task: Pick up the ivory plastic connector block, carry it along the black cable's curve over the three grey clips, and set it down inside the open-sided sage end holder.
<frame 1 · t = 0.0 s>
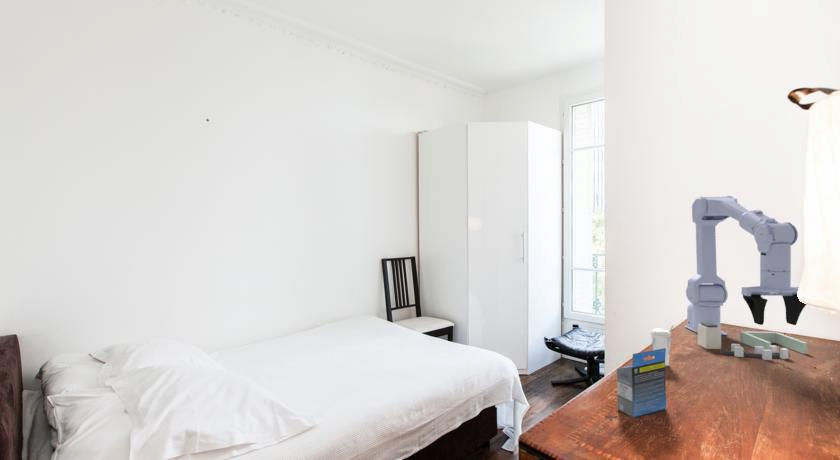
hand: (775, 323, 99), 10 cm above the table, tool pointing down, fingers open, 7 cm apart
connector: (709, 346, 113), on the table
holder: (772, 347, 111), on the table
milkshake: (662, 365, 101), on the table
cable: (757, 355, 106), resting in clips
label tape cartridge: (641, 410, 77), on the table
clips: (757, 355, 106), on the table
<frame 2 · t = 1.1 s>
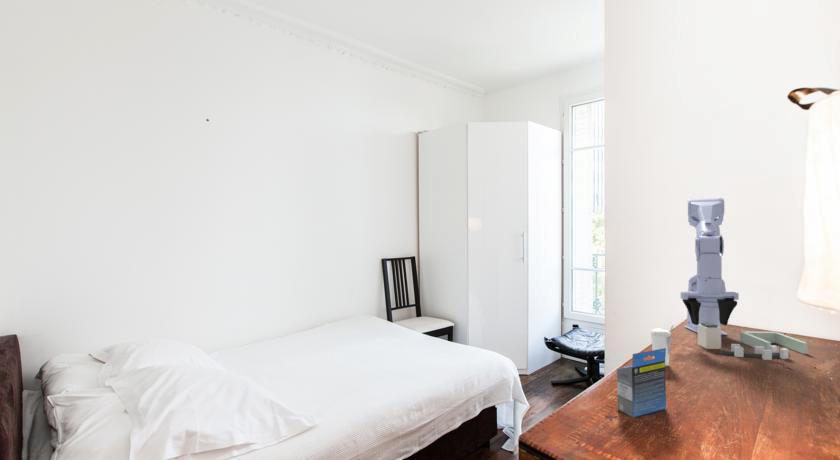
hand: (709, 324, 113), 7 cm above the table, tool pointing down, fingers open, 7 cm apart
nothing on the table moved.
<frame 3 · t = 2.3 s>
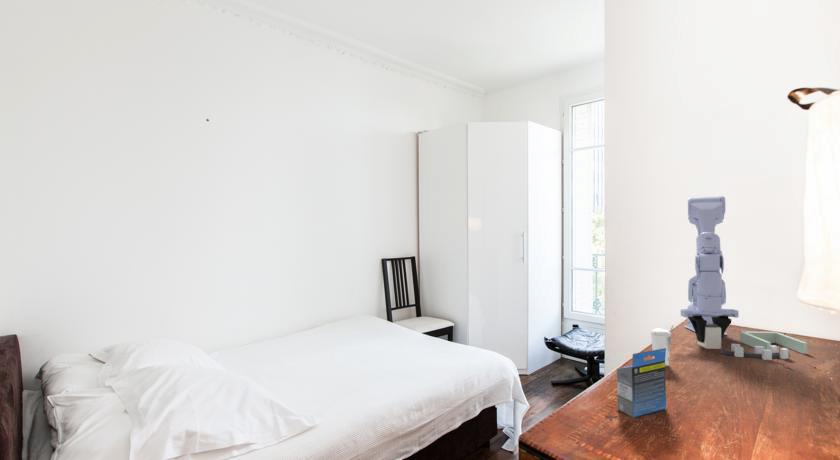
hand: (709, 341, 113), 1 cm above the table, tool pointing down, fingers closed on connector, 4 cm apart
connector: (709, 346, 113), on the table, touching gripper
everything else where it was.
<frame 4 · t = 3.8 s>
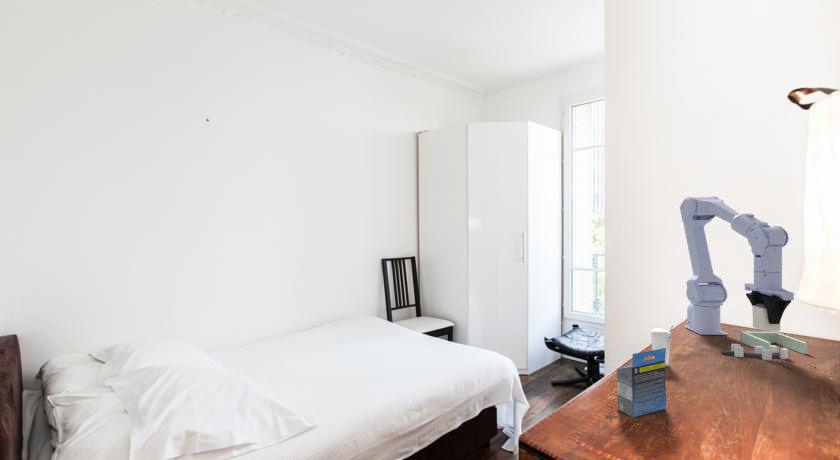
hand: (767, 321, 106), 9 cm above the table, tool pointing down, fingers closed on connector, 4 cm apart
connector: (766, 329, 106), point 7 cm above the table, touching gripper
everything else where it was.
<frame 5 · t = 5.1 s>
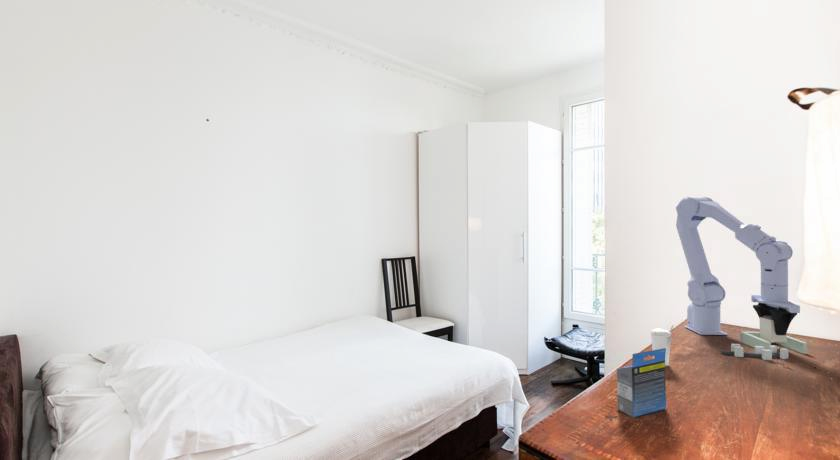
hand: (774, 332, 110), 4 cm above the table, tool pointing down, fingers closed on connector, 4 cm apart
connector: (773, 339, 111), point 2 cm above the table, touching gripper
everything else where it was.
when the fingers open (3 cm above the table, at t = 5.7 s): connector drops 1 cm, on the table.
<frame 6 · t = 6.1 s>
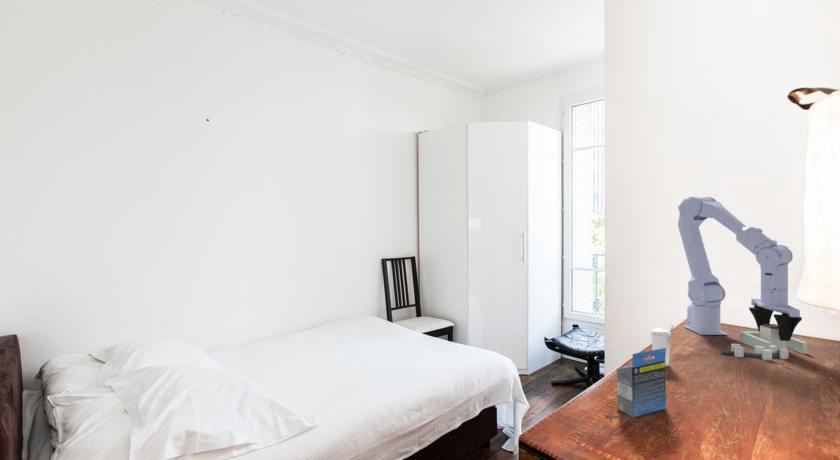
hand: (773, 336, 111), 3 cm above the table, tool pointing down, fingers open, 7 cm apart
connector: (772, 348, 111), on the table
everything else where it was.
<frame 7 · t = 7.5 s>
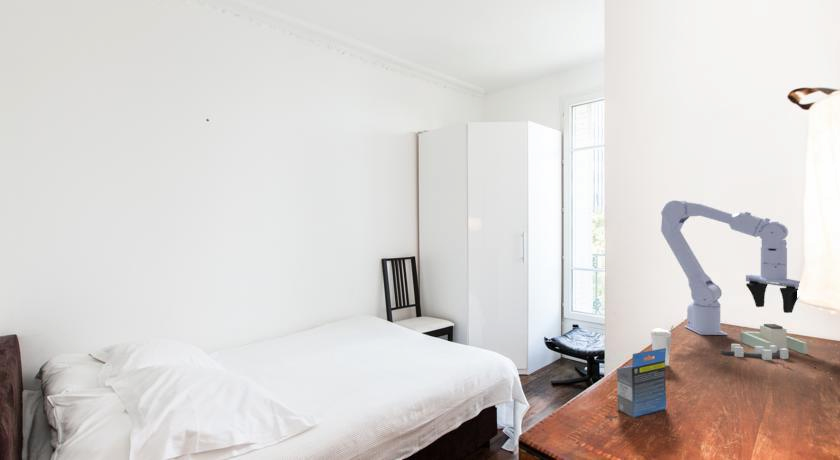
hand: (773, 309, 115), 10 cm above the table, tool pointing down, fingers open, 7 cm apart
nothing on the table moved.
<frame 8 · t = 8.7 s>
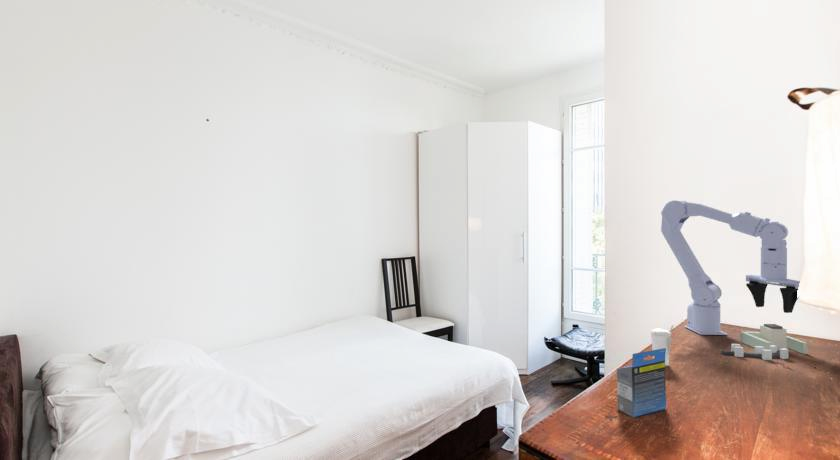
hand: (773, 309, 115), 10 cm above the table, tool pointing down, fingers open, 7 cm apart
nothing on the table moved.
at the end: connector inside the target area on the holder (0.2 cm from its centre), point 0.0 cm above the holder's base; connector tilted 0°; the gripper is holding nothing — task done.
